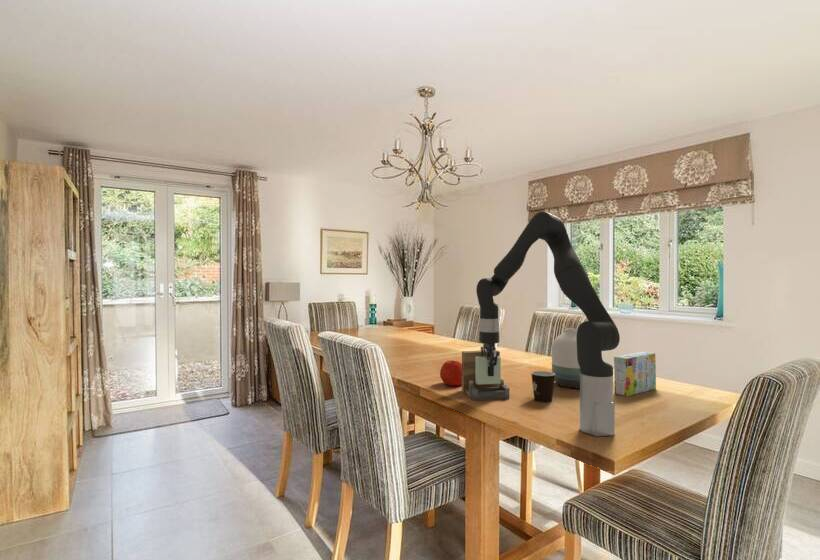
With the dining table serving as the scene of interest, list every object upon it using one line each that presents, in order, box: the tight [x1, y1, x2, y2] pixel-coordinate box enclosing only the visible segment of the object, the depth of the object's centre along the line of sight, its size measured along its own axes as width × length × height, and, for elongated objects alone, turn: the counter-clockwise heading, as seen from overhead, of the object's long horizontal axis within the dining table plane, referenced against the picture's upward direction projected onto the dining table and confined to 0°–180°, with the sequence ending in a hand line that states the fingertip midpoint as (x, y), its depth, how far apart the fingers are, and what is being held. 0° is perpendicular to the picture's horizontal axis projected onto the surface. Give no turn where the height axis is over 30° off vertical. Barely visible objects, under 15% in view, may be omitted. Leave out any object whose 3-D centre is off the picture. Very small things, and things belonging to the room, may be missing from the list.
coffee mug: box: [531, 370, 555, 403], centre depth 167 cm, size 12×9×10 cm
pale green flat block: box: [476, 356, 502, 385], centre depth 169 cm, size 3×9×10 cm, turn 99°
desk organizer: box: [461, 349, 510, 401], centre depth 173 cm, size 14×15×16 cm
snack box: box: [613, 351, 657, 397], centre depth 178 cm, size 21×6×15 cm, turn 122°
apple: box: [439, 360, 462, 387], centre depth 189 cm, size 11×11×11 cm
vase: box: [551, 327, 580, 389], centre depth 187 cm, size 17×17×24 cm
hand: (489, 374), depth 169 cm, fingers closed on pale green flat block, 3 cm apart
